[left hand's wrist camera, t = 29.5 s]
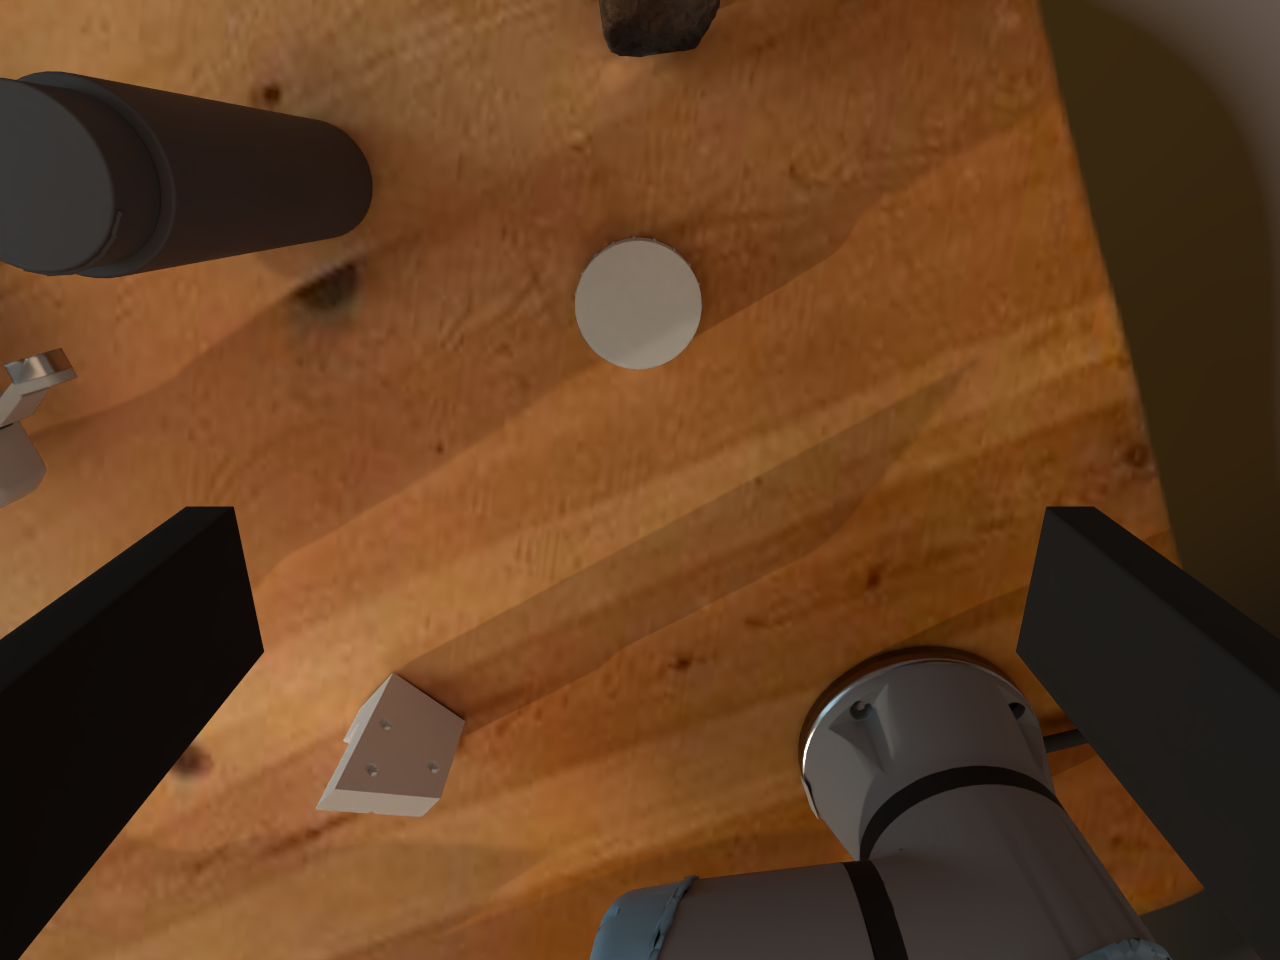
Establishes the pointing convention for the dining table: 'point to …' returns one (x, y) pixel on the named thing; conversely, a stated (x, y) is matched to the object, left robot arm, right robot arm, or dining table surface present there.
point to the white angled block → (395, 754)
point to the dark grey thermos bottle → (162, 178)
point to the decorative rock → (655, 25)
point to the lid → (638, 303)
